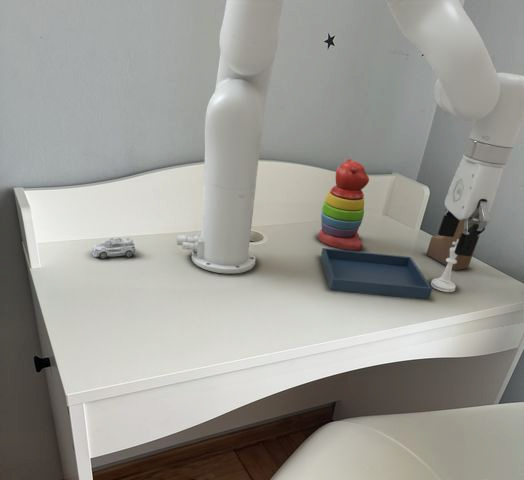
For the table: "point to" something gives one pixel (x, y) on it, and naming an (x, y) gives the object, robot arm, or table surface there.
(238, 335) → the table surface
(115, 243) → the toy car
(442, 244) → the wooden block
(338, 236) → the stacking bear
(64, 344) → the table surface
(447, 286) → the chess piece
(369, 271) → the tray
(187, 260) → the table surface
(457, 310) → the table surface
